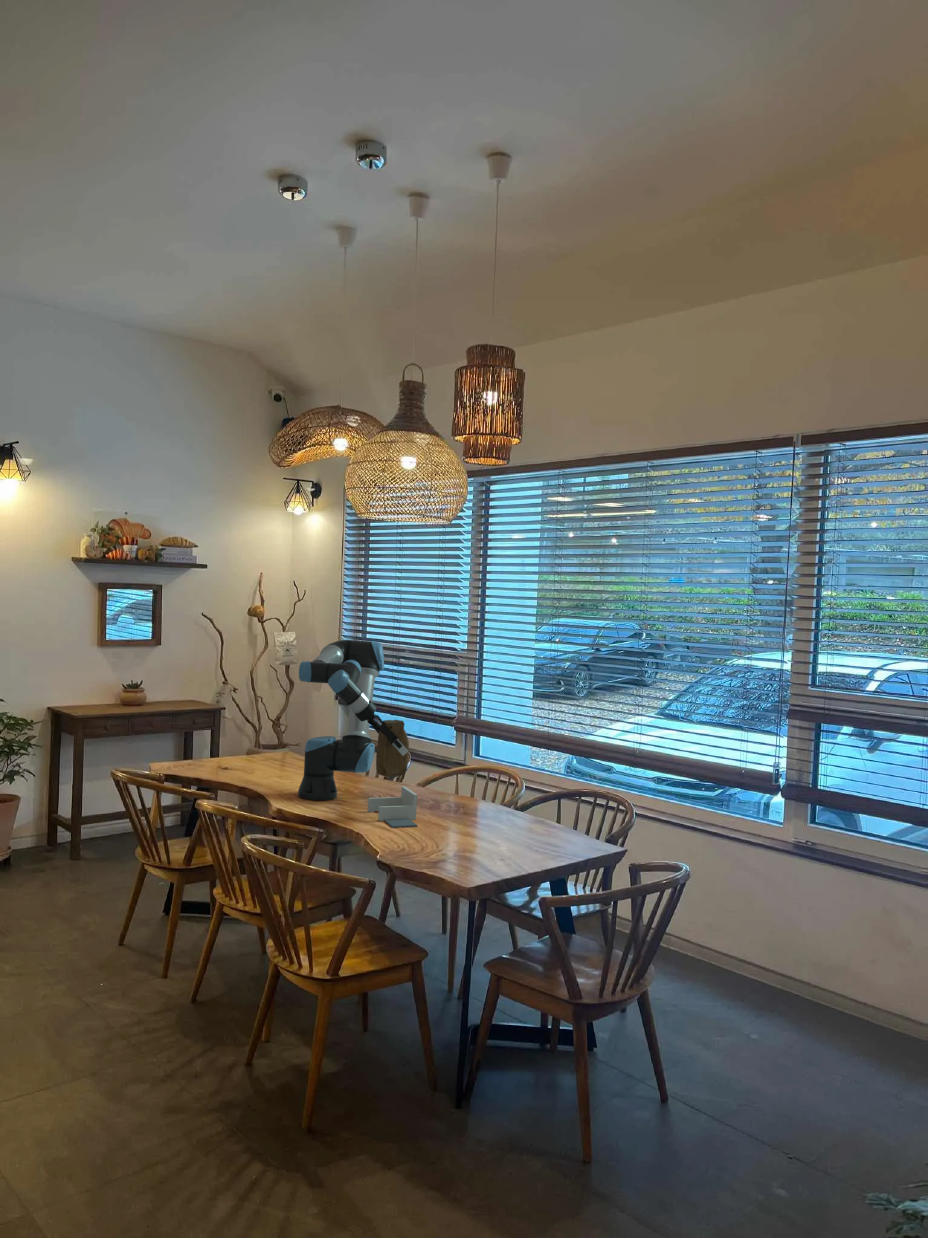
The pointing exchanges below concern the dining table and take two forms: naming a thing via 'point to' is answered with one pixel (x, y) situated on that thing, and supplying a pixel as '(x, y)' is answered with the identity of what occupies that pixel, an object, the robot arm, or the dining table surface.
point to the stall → (395, 806)
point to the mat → (400, 823)
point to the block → (392, 751)
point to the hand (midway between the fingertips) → (401, 751)
